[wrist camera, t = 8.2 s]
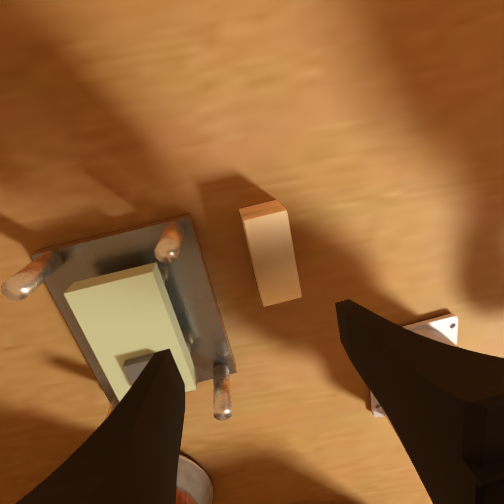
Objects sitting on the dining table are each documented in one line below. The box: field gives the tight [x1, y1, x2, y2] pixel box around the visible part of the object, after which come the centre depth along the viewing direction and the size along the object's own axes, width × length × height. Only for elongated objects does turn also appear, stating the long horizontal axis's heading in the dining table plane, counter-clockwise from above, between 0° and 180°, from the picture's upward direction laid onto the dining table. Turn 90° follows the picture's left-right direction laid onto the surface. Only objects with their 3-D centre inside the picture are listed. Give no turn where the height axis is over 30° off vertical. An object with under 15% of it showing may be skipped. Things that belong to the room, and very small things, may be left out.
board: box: [64, 262, 197, 402], centre depth 19 cm, size 9×5×2 cm, turn 12°
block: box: [239, 200, 302, 307], centre depth 20 cm, size 6×3×3 cm, turn 12°
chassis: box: [1, 213, 236, 420], centre depth 20 cm, size 13×10×5 cm
